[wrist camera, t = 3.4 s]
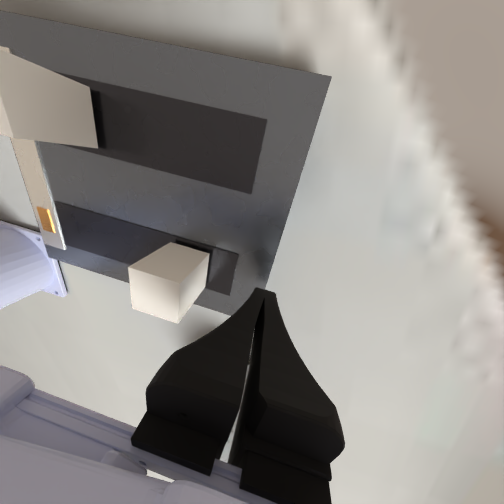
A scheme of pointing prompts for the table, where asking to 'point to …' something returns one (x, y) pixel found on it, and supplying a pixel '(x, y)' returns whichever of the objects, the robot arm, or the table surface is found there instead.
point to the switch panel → (168, 154)
